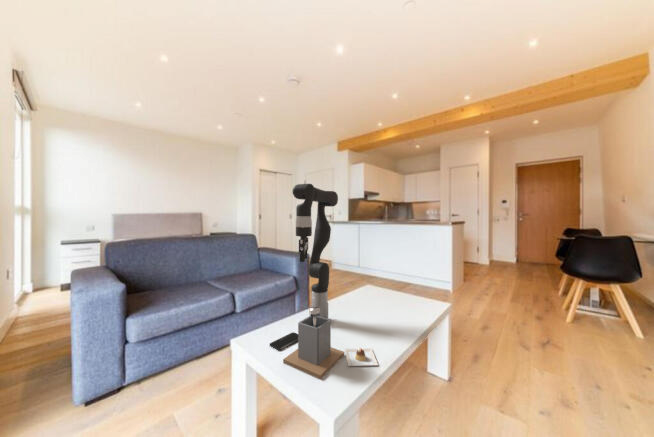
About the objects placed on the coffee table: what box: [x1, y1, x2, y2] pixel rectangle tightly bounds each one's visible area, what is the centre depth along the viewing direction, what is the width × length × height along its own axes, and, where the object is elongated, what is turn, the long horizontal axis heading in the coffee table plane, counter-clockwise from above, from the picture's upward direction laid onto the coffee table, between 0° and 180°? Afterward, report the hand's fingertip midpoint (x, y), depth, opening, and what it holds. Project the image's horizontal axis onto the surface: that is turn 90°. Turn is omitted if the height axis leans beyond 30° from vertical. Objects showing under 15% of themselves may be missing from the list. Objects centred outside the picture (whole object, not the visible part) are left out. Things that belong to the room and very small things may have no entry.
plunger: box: [308, 306, 320, 327], centre depth 98 cm, size 8×8×17 cm
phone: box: [269, 332, 298, 352], centre depth 111 cm, size 8×1×15 cm
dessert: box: [344, 347, 379, 367], centre depth 99 cm, size 12×12×5 cm
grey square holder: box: [282, 315, 345, 380], centre depth 98 cm, size 18×18×16 cm
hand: (303, 260), depth 112 cm, fingers open, 8 cm apart
